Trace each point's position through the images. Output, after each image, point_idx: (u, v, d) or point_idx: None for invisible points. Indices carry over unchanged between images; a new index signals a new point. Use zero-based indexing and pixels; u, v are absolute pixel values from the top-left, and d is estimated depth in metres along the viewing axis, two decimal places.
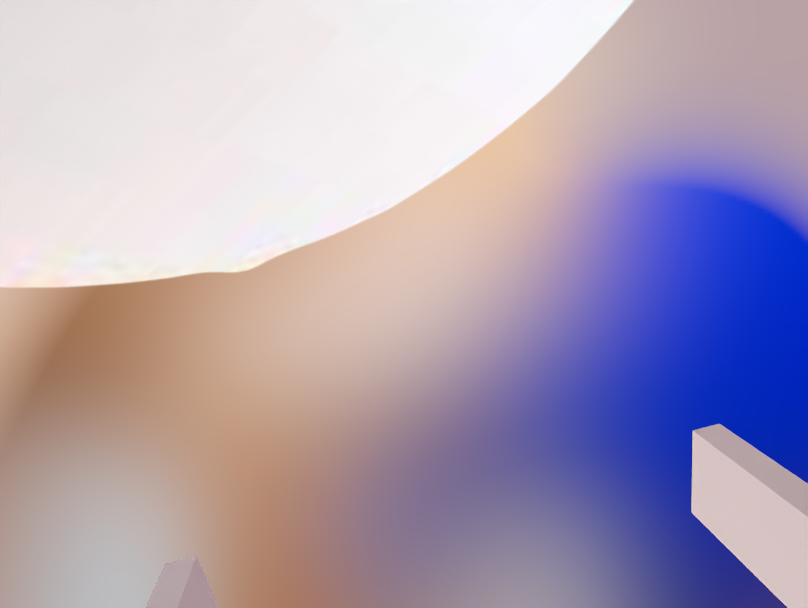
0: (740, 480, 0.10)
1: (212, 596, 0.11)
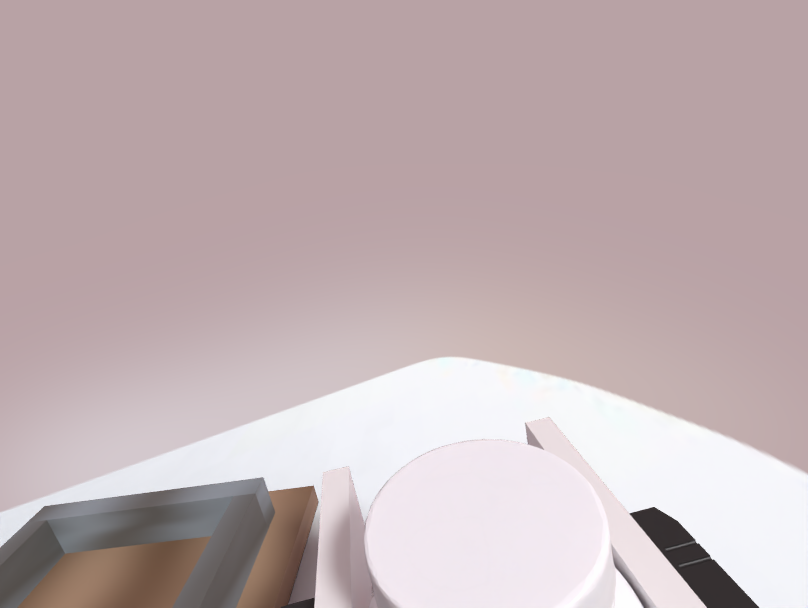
0: None
1: (356, 503, 0.13)
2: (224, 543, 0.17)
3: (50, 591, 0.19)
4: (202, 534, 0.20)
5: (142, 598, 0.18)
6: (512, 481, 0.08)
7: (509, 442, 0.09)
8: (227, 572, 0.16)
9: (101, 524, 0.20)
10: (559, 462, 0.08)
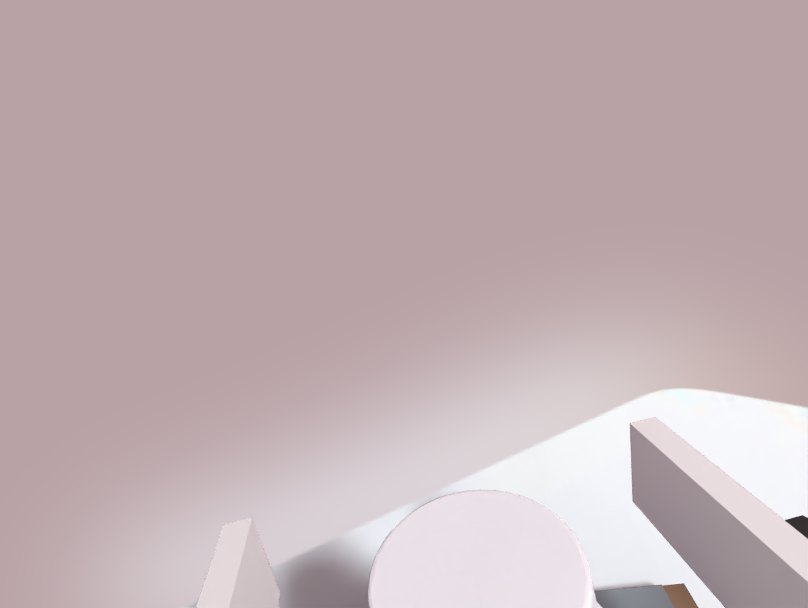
0: (666, 468, 0.11)
1: (264, 556, 0.12)
2: None
3: None
4: None
5: None
6: (505, 534, 0.09)
7: (503, 492, 0.10)
8: None
9: None
10: (549, 515, 0.09)
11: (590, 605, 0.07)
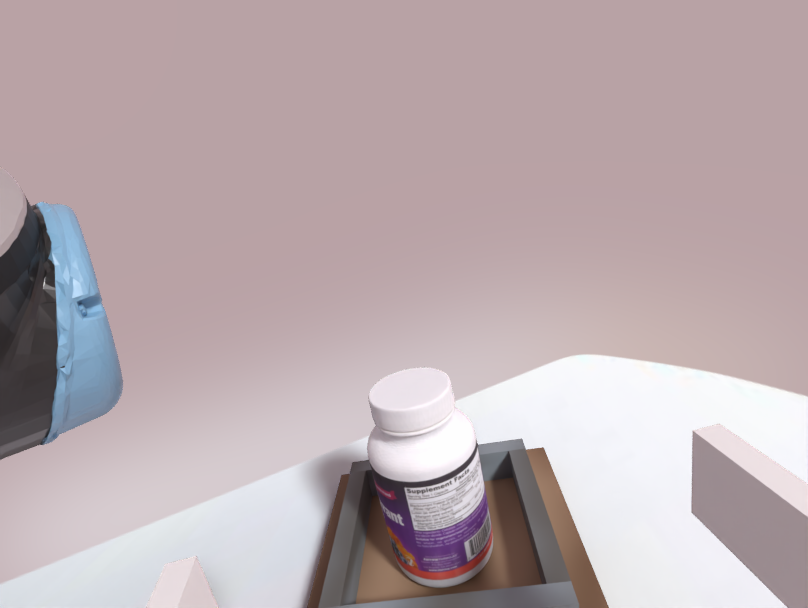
0: (740, 479, 0.10)
1: (211, 597, 0.11)
2: (530, 478, 0.25)
3: (384, 518, 0.27)
4: None
5: None
6: (422, 378, 0.22)
7: (426, 368, 0.23)
8: None
9: None
10: (441, 372, 0.22)
11: (446, 392, 0.20)
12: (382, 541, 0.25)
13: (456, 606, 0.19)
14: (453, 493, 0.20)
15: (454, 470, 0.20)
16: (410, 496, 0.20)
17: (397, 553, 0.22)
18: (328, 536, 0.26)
